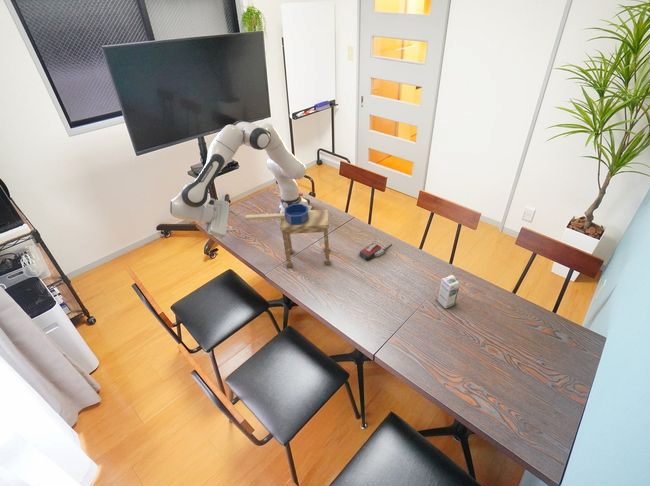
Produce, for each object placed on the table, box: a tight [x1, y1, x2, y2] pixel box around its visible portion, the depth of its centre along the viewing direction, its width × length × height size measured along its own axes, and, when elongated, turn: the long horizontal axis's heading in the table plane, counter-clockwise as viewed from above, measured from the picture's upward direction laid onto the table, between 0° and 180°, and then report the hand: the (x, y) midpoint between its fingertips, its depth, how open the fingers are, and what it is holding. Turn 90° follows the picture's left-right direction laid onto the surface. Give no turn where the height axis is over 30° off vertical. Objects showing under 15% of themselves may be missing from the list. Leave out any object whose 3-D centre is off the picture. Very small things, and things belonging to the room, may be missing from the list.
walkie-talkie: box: [359, 242, 393, 261], centre depth 180 cm, size 9×4×20 cm
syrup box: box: [437, 274, 461, 309], centre depth 147 cm, size 6×6×14 cm
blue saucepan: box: [244, 204, 309, 225], centre depth 159 cm, size 30×11×5 cm, turn 95°
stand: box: [279, 208, 331, 268], centre depth 169 cm, size 23×14×26 cm, turn 96°
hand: (236, 222), depth 164 cm, fingers open, 8 cm apart
